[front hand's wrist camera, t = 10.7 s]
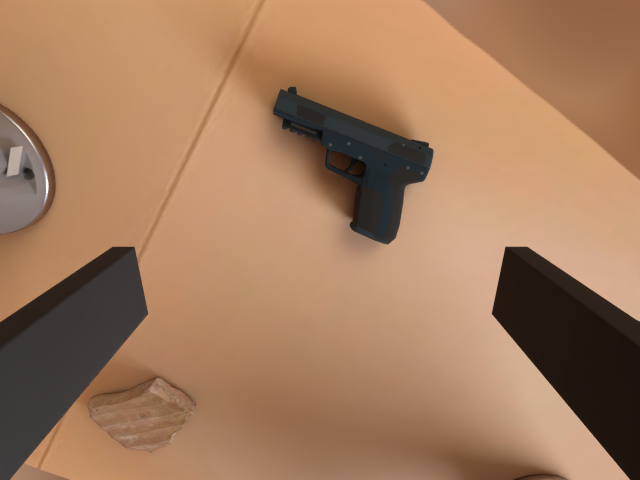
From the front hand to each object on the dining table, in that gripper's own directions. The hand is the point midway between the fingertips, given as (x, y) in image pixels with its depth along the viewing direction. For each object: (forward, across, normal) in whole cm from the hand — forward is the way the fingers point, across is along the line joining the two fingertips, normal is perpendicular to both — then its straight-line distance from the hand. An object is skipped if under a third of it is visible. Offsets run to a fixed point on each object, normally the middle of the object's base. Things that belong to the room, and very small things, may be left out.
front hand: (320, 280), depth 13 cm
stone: (+29, +26, +36) cm, 53 cm away
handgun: (+29, -2, 0) cm, 29 cm away
